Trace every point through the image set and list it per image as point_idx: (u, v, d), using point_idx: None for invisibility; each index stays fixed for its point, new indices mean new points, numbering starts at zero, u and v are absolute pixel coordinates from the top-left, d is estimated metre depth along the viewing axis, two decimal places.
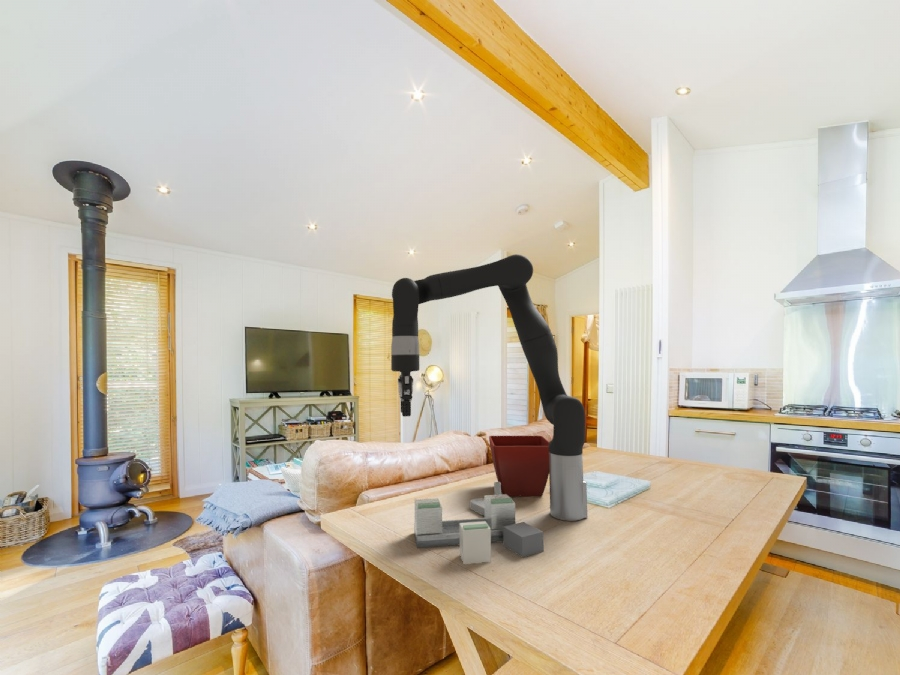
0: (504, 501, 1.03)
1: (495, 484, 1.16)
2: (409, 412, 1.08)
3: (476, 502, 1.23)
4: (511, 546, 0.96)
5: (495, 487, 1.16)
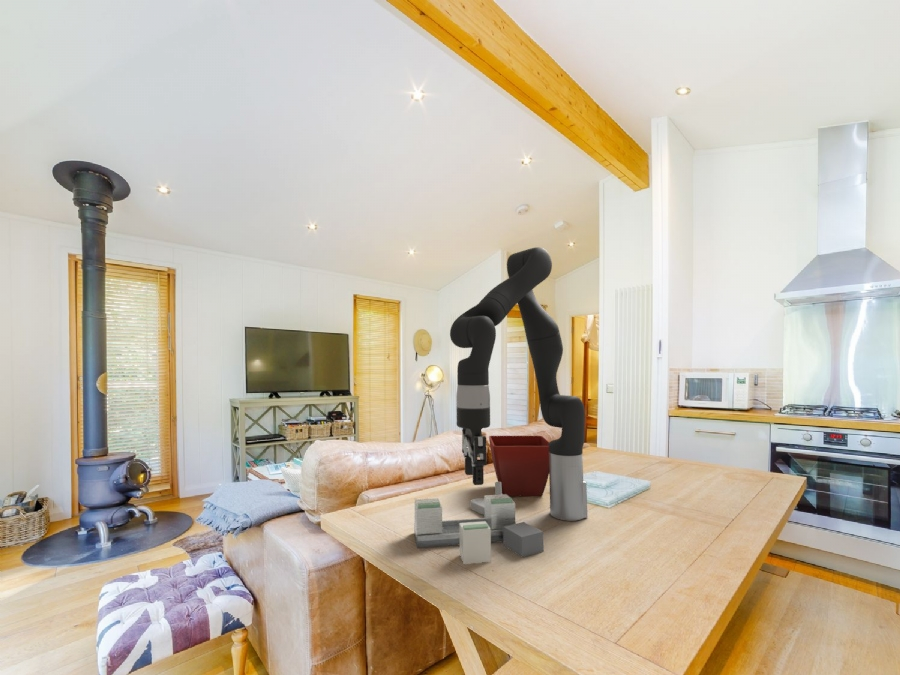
0: (504, 501, 1.03)
1: (496, 484, 1.16)
2: (481, 480, 0.89)
3: (476, 502, 1.23)
4: (511, 546, 0.96)
5: (496, 487, 1.16)
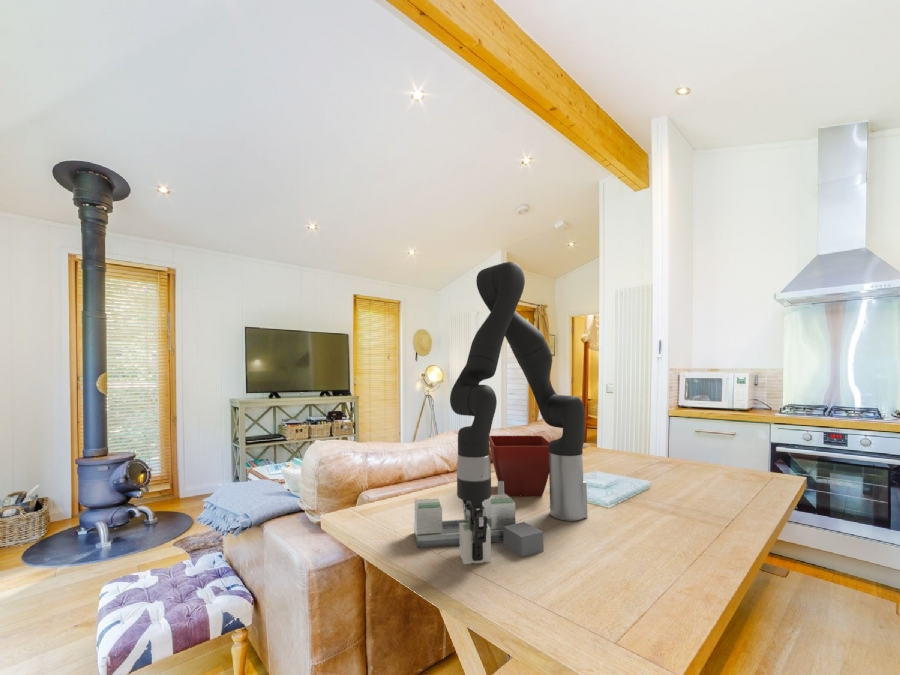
0: (504, 501, 1.03)
1: (499, 483, 1.17)
2: None
3: None
4: (511, 546, 0.96)
5: (499, 486, 1.17)
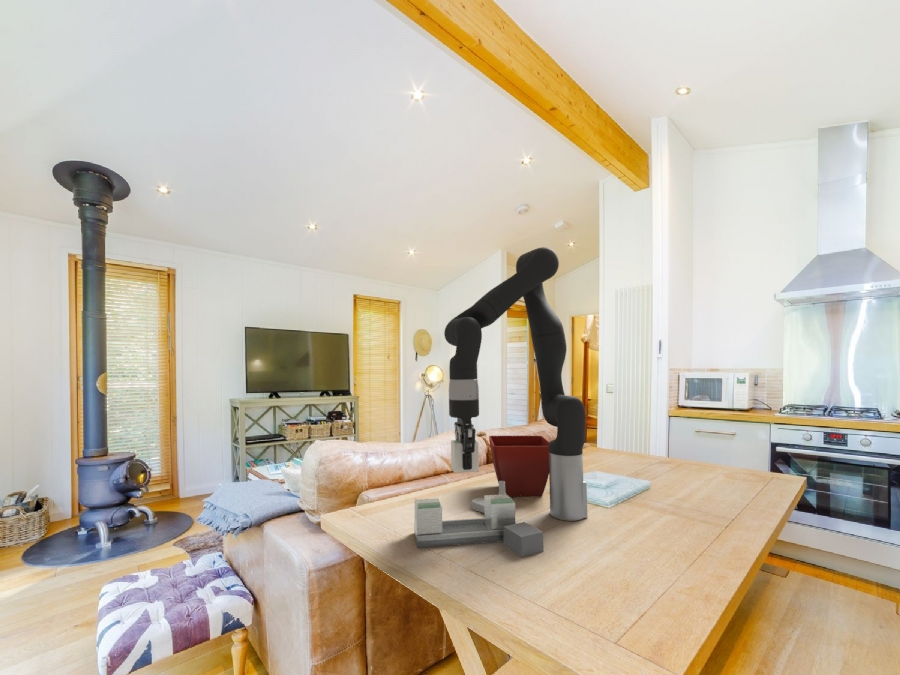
0: (504, 501, 1.03)
1: (500, 483, 1.17)
2: None
3: (478, 502, 1.23)
4: (511, 546, 0.96)
5: (500, 486, 1.17)
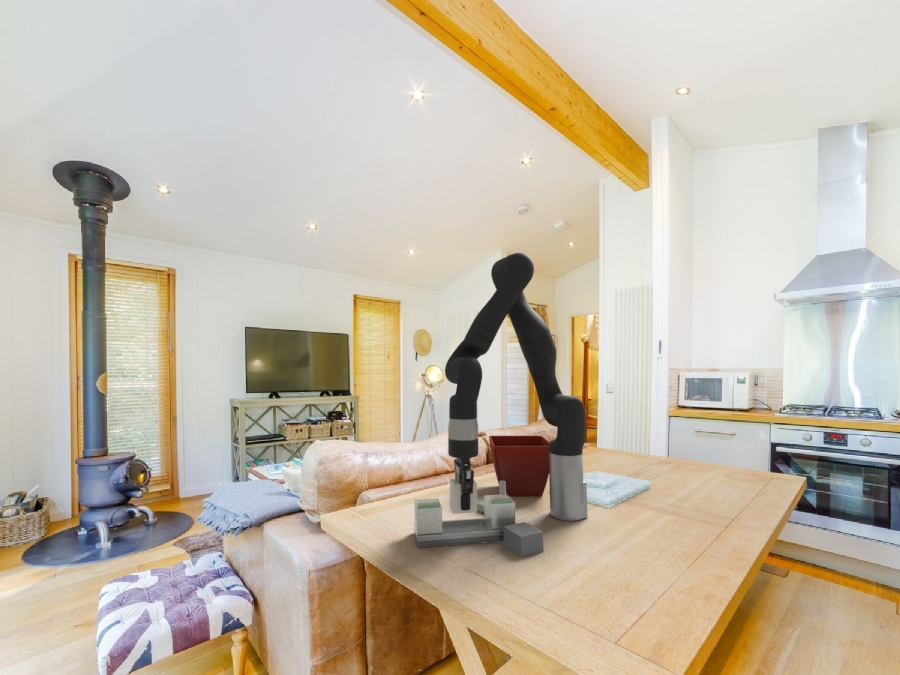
0: (504, 501, 1.03)
1: (500, 483, 1.17)
2: None
3: (479, 502, 1.23)
4: (511, 546, 0.96)
5: (500, 486, 1.17)
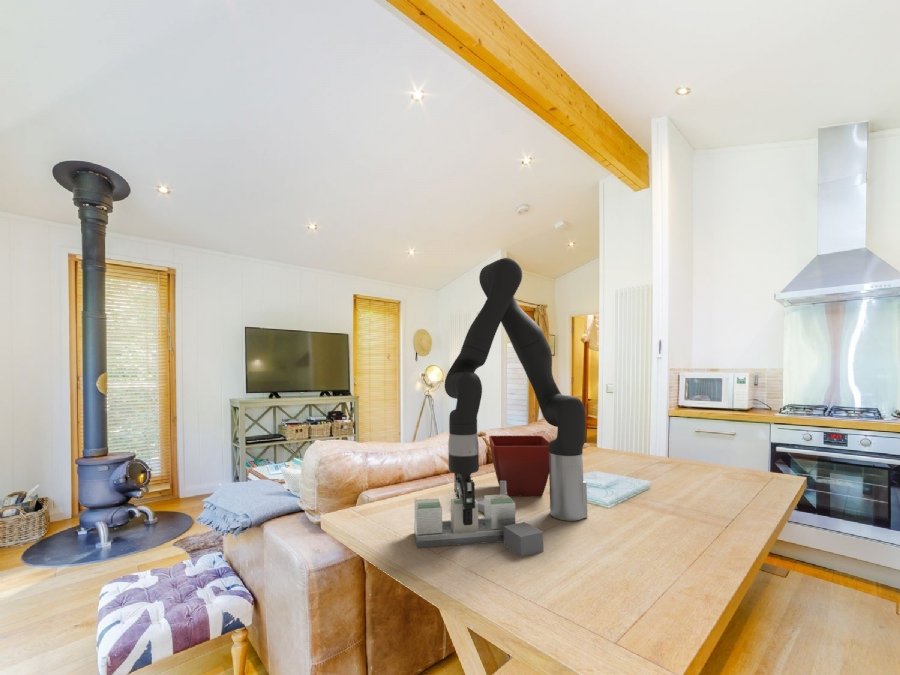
0: (504, 501, 1.03)
1: (501, 483, 1.17)
2: (471, 520, 1.00)
3: (479, 501, 1.23)
4: (511, 546, 0.96)
5: (501, 486, 1.17)
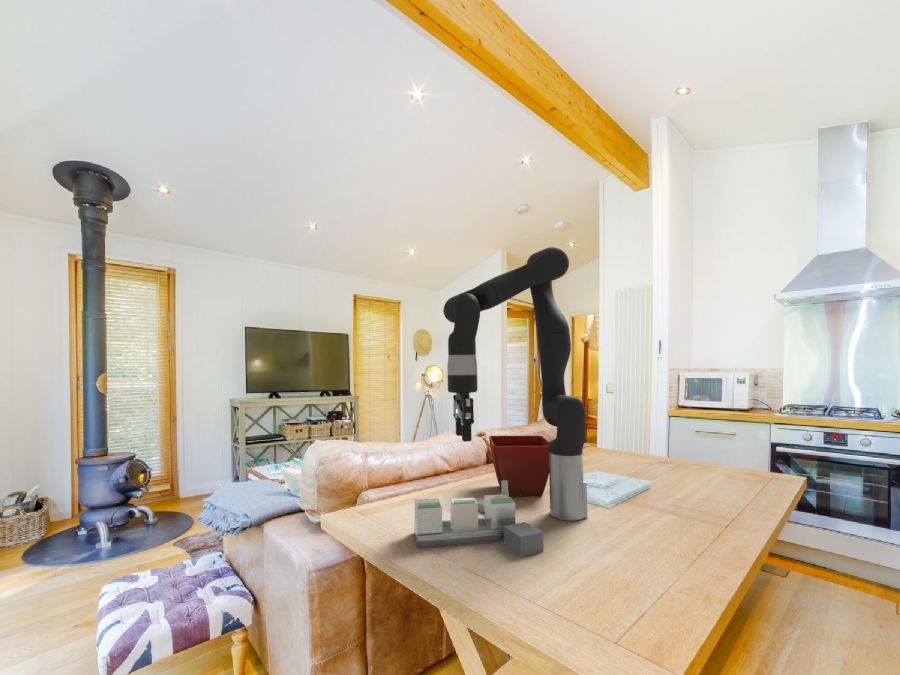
0: (504, 501, 1.03)
1: (503, 482, 1.18)
2: (470, 437, 1.01)
3: (480, 501, 1.24)
4: (511, 546, 0.96)
5: (503, 485, 1.18)
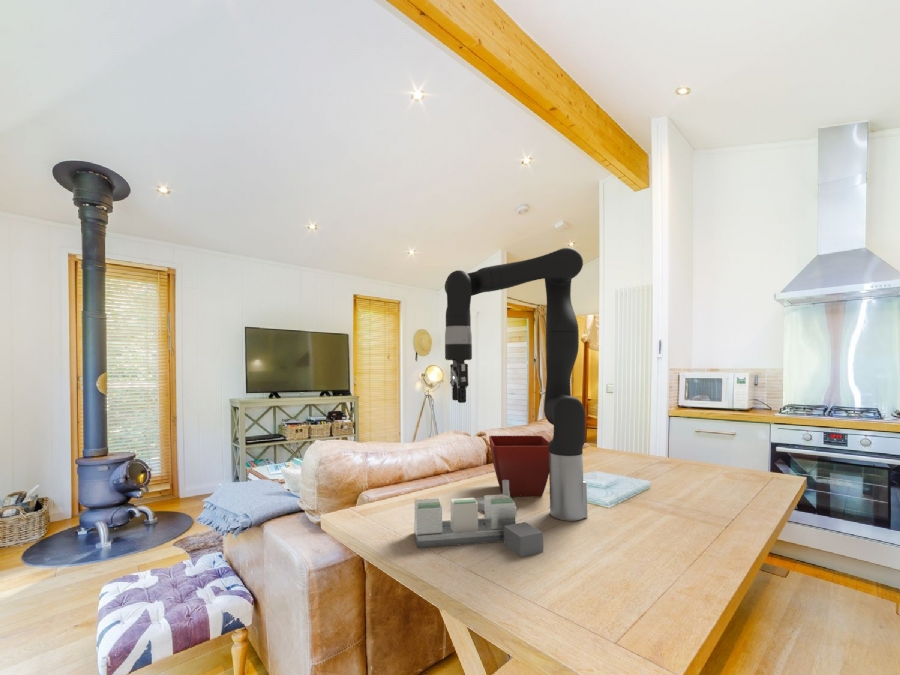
0: (504, 501, 1.03)
1: (504, 482, 1.18)
2: (464, 399, 1.13)
3: (480, 501, 1.24)
4: (511, 546, 0.96)
5: (504, 485, 1.18)
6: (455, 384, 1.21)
